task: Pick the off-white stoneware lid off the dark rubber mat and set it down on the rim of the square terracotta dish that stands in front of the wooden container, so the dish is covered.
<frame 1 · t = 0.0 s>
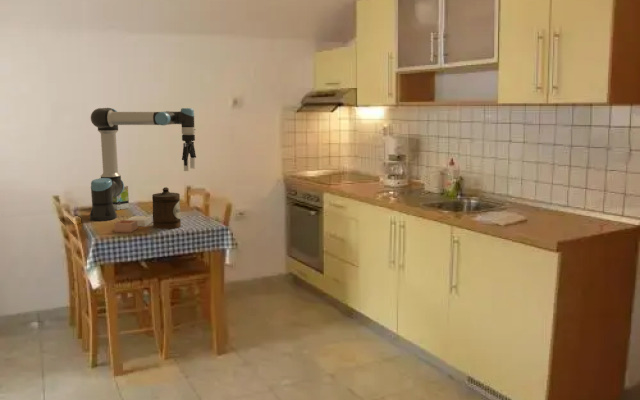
hand: (189, 169, 359), 28 cm above the table, tool pointing down, fingers open, 13 cm apart
lid: (139, 224, 336), resting on mat
dish: (126, 231, 320), on the table
tea box: (115, 208, 389), on the table
wooden container: (167, 227, 332), on the table
mat: (139, 225, 336), on the table
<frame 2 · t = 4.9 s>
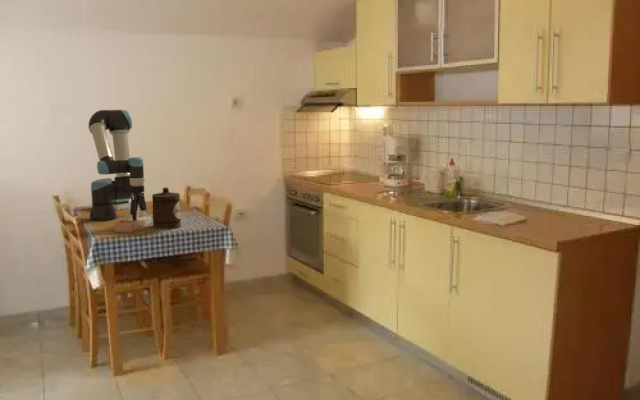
hand: (139, 223, 335), 1 cm above the table, tool pointing down, fingers closed on mat, 11 cm apart
nothing on the table moved.
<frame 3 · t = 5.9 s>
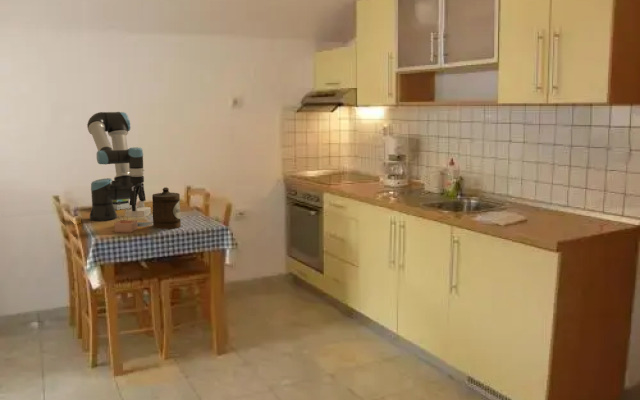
hand: (138, 214, 335), 6 cm above the table, tool pointing down, fingers closed on lid, 10 cm apart
lid: (138, 214, 335), point 6 cm above the table, touching gripper
everything else where it was.
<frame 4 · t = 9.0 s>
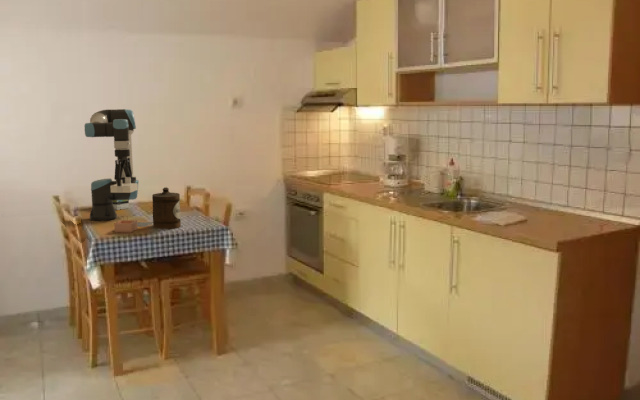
hand: (124, 190, 316), 22 cm above the table, tool pointing down, fingers closed on lid, 10 cm apart
lid: (124, 191, 316), point 22 cm above the table, touching gripper
everything else where it was.
when the fingers open (6 cm above the table, at t = 12.2 s): lid drops 1 cm, resting on dish.
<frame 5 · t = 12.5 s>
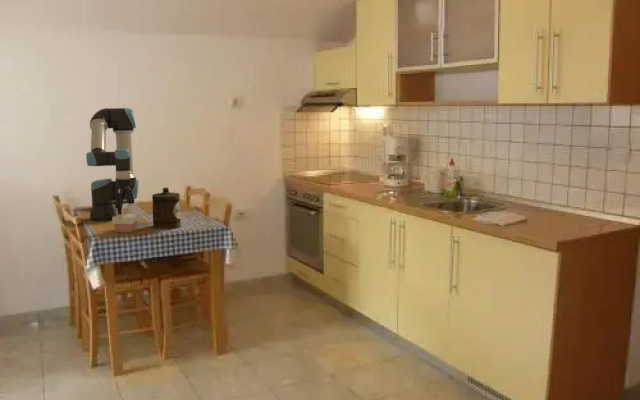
hand: (125, 217, 319), 7 cm above the table, tool pointing down, fingers open, 13 cm apart
lid: (126, 221, 319), point 5 cm above the table, touching dish
everything else where it was.
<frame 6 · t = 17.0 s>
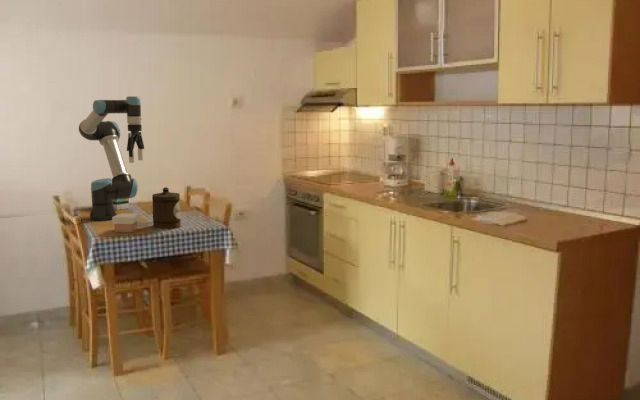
hand: (136, 161, 341), 35 cm above the table, tool pointing down, fingers open, 13 cm apart
nothing on the table moved.
at the end: lid 0.1 cm off-centre on the dish, point 5.0 cm above the dish's base; lid tilted 0°; lid 22.1 cm from the wooden container (horizontally) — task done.
